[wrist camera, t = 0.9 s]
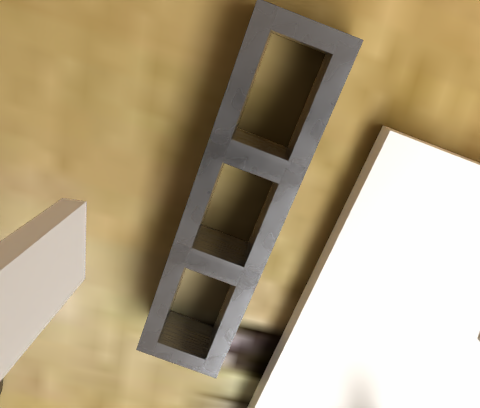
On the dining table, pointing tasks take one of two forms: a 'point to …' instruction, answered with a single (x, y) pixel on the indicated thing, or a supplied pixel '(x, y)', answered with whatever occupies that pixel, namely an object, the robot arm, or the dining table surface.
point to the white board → (390, 292)
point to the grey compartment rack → (253, 161)
